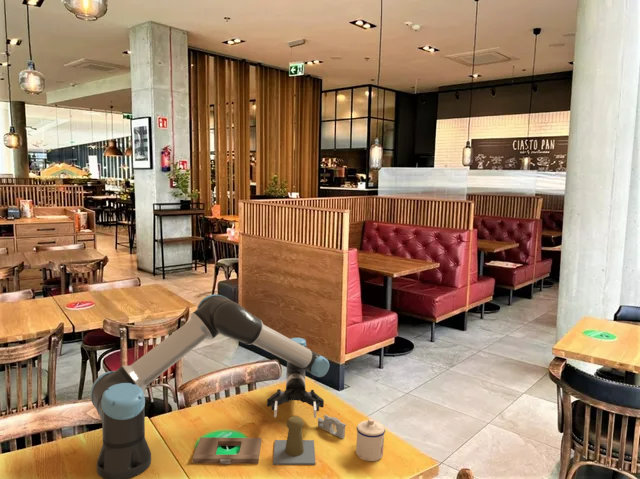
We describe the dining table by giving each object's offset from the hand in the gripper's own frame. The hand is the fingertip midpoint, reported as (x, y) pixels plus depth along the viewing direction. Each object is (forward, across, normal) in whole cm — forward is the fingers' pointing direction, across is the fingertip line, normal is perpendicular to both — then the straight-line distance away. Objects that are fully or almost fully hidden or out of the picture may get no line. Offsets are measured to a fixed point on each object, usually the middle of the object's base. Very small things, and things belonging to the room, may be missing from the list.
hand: (295, 413), depth 163 cm
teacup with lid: (+10, -24, -8) cm, 27 cm away
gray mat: (+11, 0, -8) cm, 13 cm away
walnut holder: (+11, +21, -8) cm, 25 cm away
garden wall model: (-2, -13, -8) cm, 15 cm away
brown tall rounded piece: (+11, 0, -7) cm, 13 cm away
